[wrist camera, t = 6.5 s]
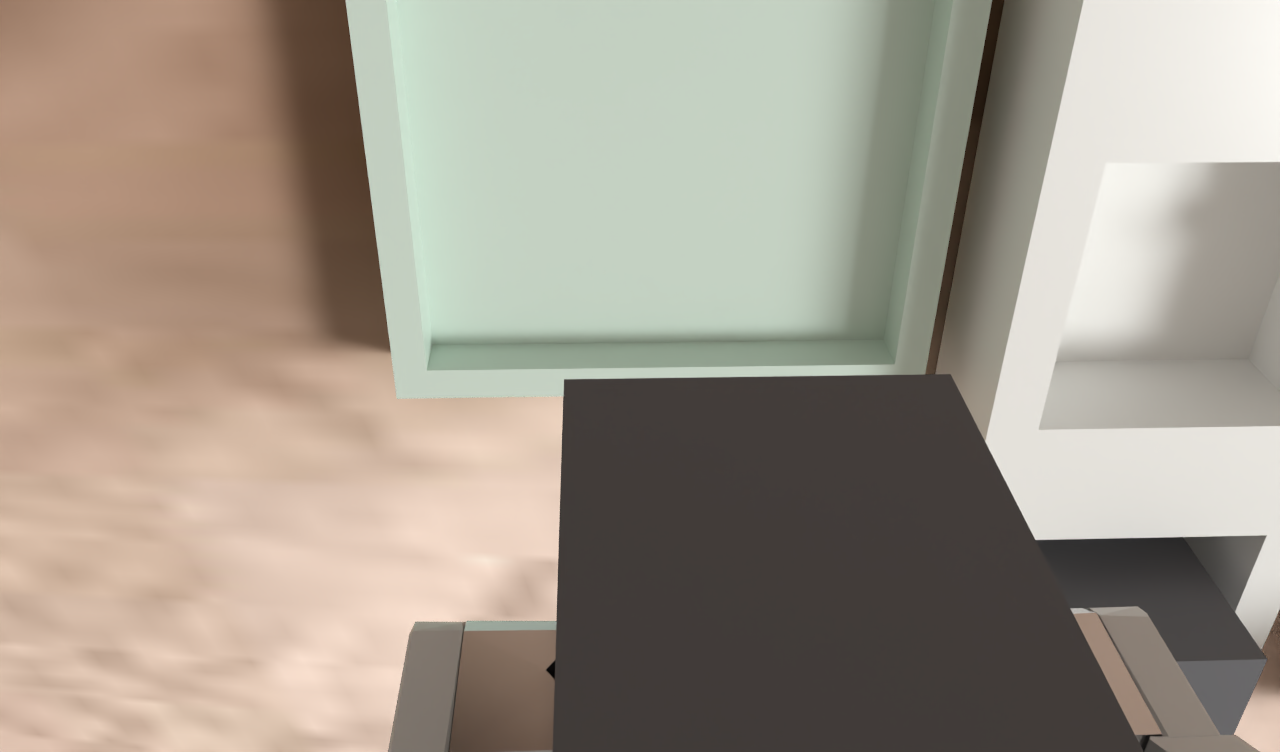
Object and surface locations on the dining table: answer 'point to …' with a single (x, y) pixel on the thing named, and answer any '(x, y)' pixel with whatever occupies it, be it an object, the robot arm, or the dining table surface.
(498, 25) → the tray
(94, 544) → the dining table surface
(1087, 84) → the white power strip
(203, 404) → the dining table surface
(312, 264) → the dining table surface
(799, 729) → the dark grey block
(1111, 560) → the twin plug
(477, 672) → the robot arm
